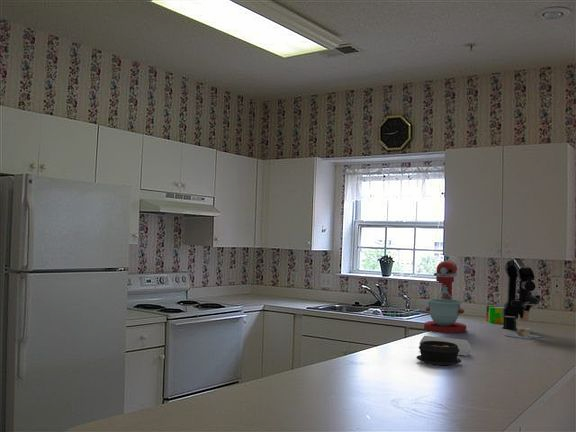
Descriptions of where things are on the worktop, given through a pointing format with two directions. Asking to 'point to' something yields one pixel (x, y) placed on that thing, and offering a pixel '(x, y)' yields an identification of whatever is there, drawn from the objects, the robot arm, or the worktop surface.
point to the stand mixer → (445, 303)
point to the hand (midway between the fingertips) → (523, 317)
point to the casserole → (439, 353)
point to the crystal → (462, 344)
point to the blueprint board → (523, 336)
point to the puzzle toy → (494, 314)
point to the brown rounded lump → (525, 316)
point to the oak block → (523, 332)
